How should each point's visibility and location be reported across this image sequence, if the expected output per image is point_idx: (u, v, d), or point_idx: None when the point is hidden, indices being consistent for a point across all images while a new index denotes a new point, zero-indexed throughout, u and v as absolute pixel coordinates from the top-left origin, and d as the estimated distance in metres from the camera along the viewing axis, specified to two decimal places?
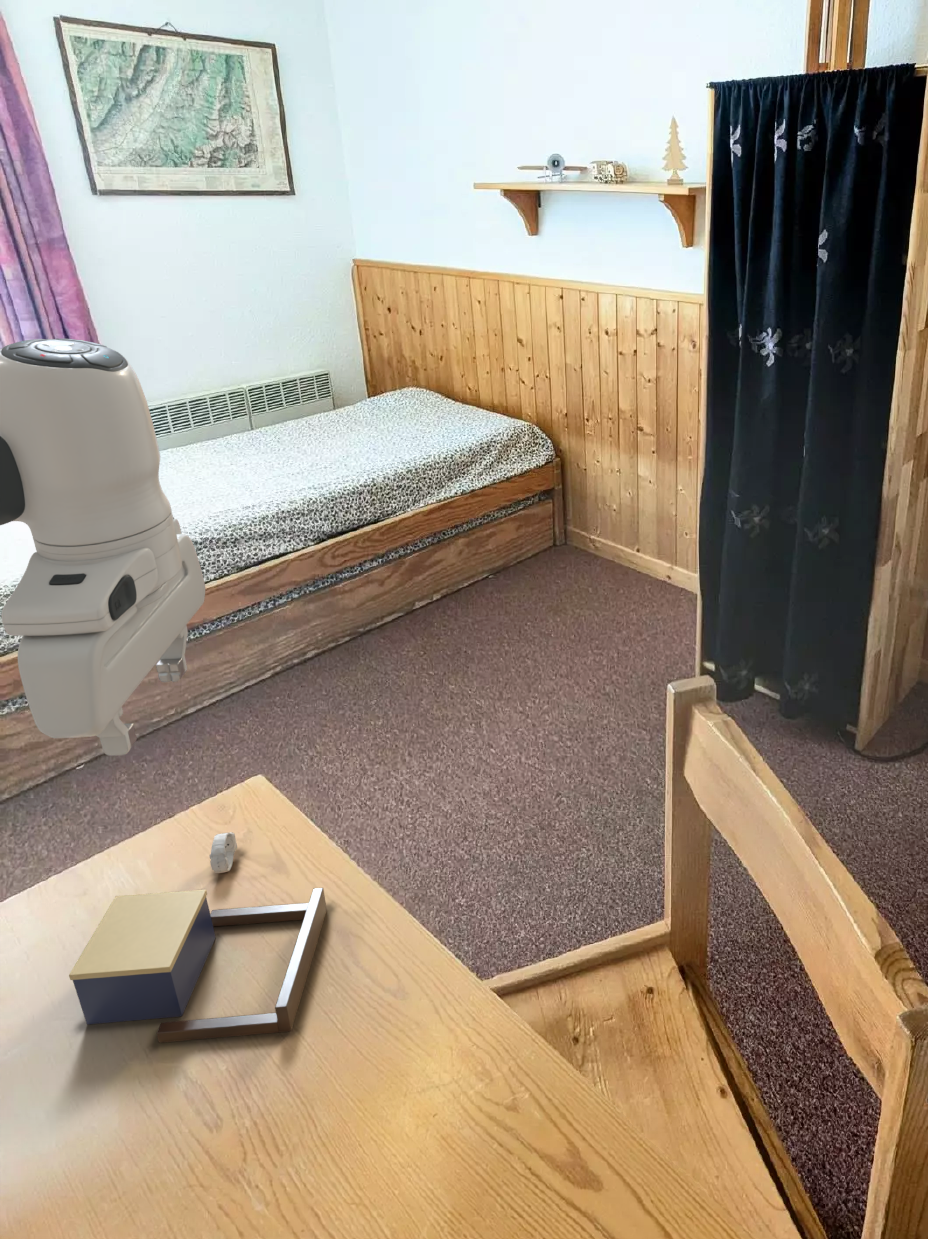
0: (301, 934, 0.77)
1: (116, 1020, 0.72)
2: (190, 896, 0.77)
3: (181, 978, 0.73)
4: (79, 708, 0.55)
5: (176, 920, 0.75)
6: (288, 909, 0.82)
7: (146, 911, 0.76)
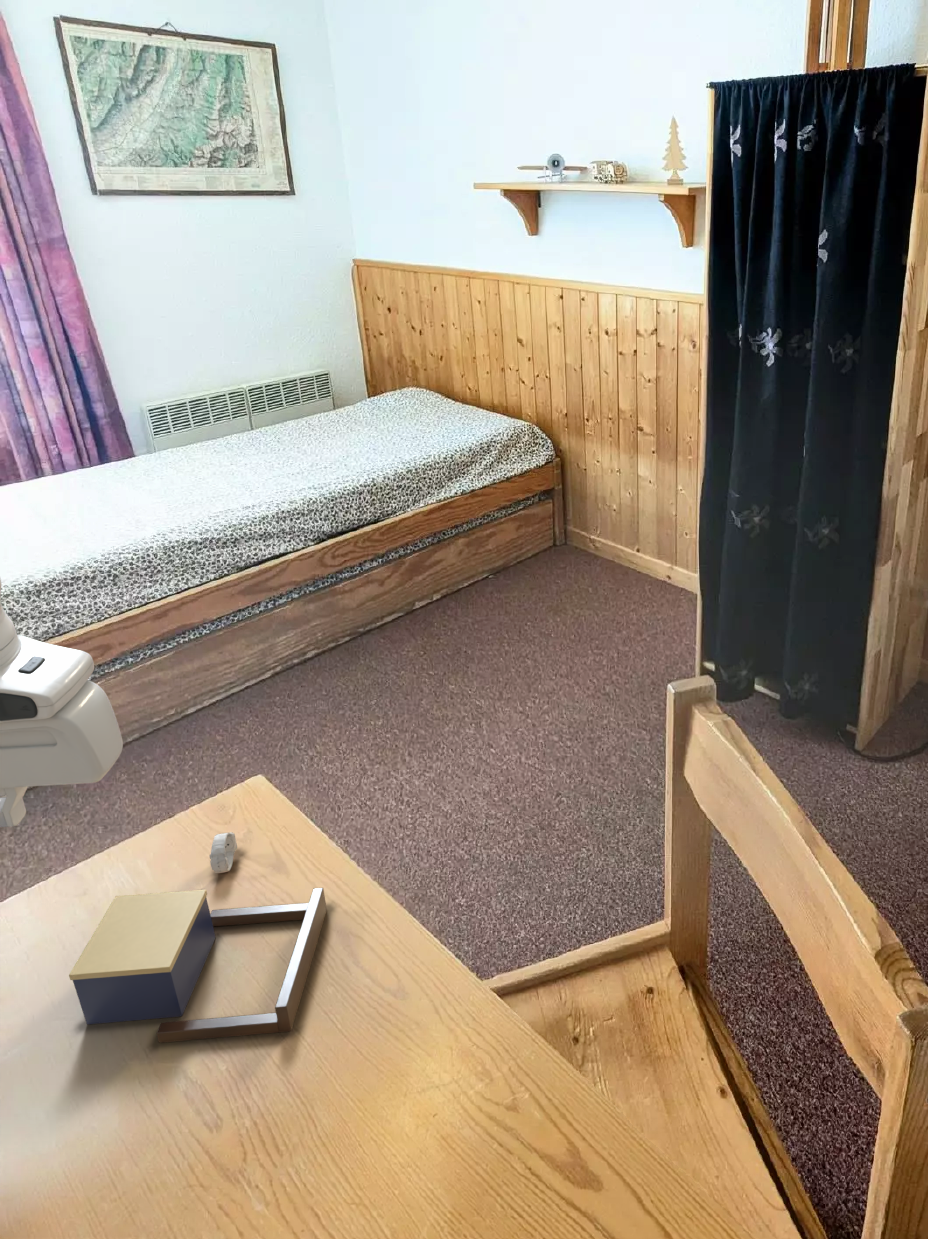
0: (301, 934, 0.77)
1: (116, 1020, 0.72)
2: (190, 896, 0.77)
3: (181, 978, 0.73)
4: (116, 732, 0.68)
5: (176, 920, 0.75)
6: (288, 909, 0.82)
7: (146, 911, 0.76)
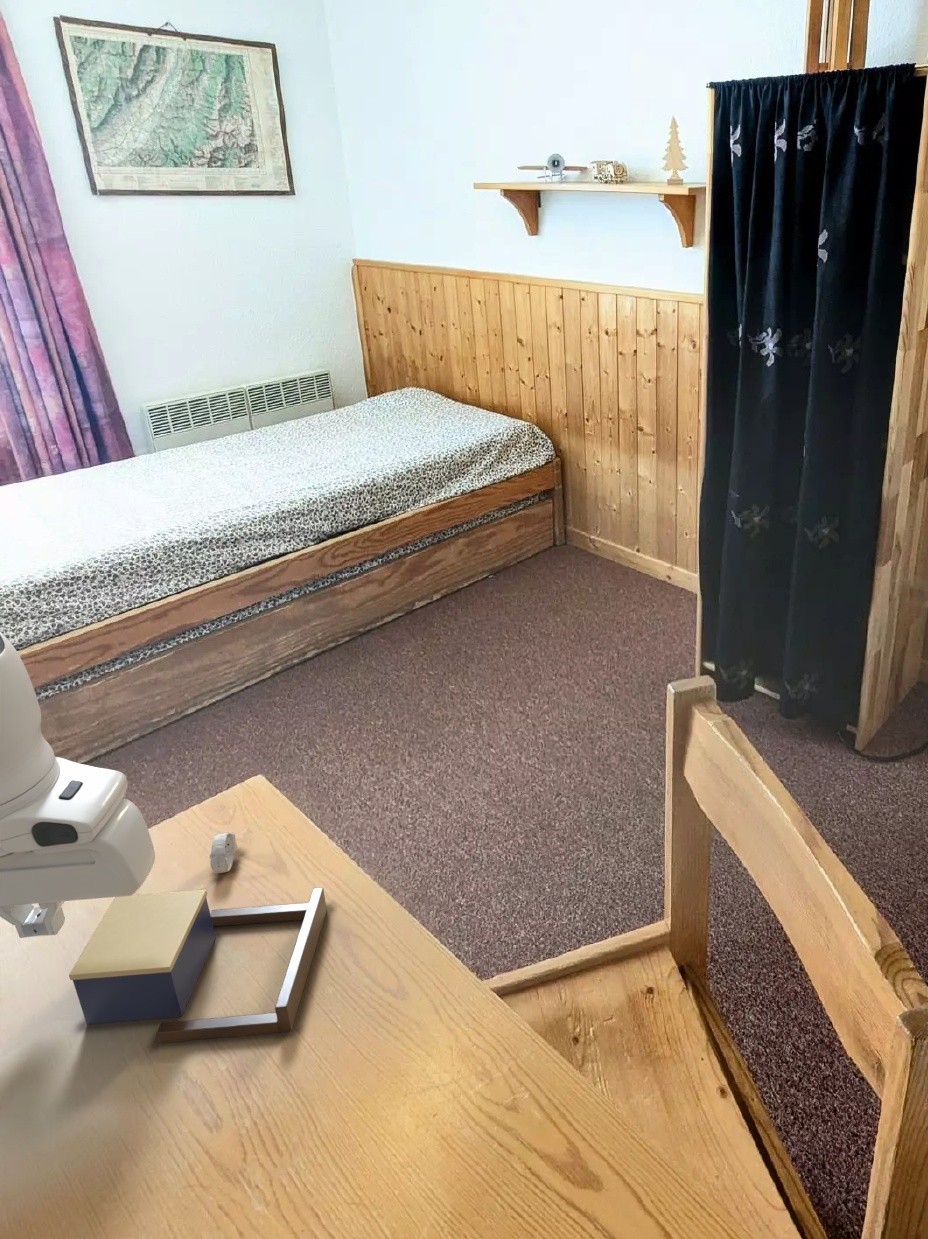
0: (301, 934, 0.77)
1: (116, 1020, 0.72)
2: (190, 896, 0.77)
3: (181, 978, 0.73)
4: (149, 845, 0.72)
5: (176, 920, 0.75)
6: (288, 909, 0.82)
7: (146, 911, 0.76)
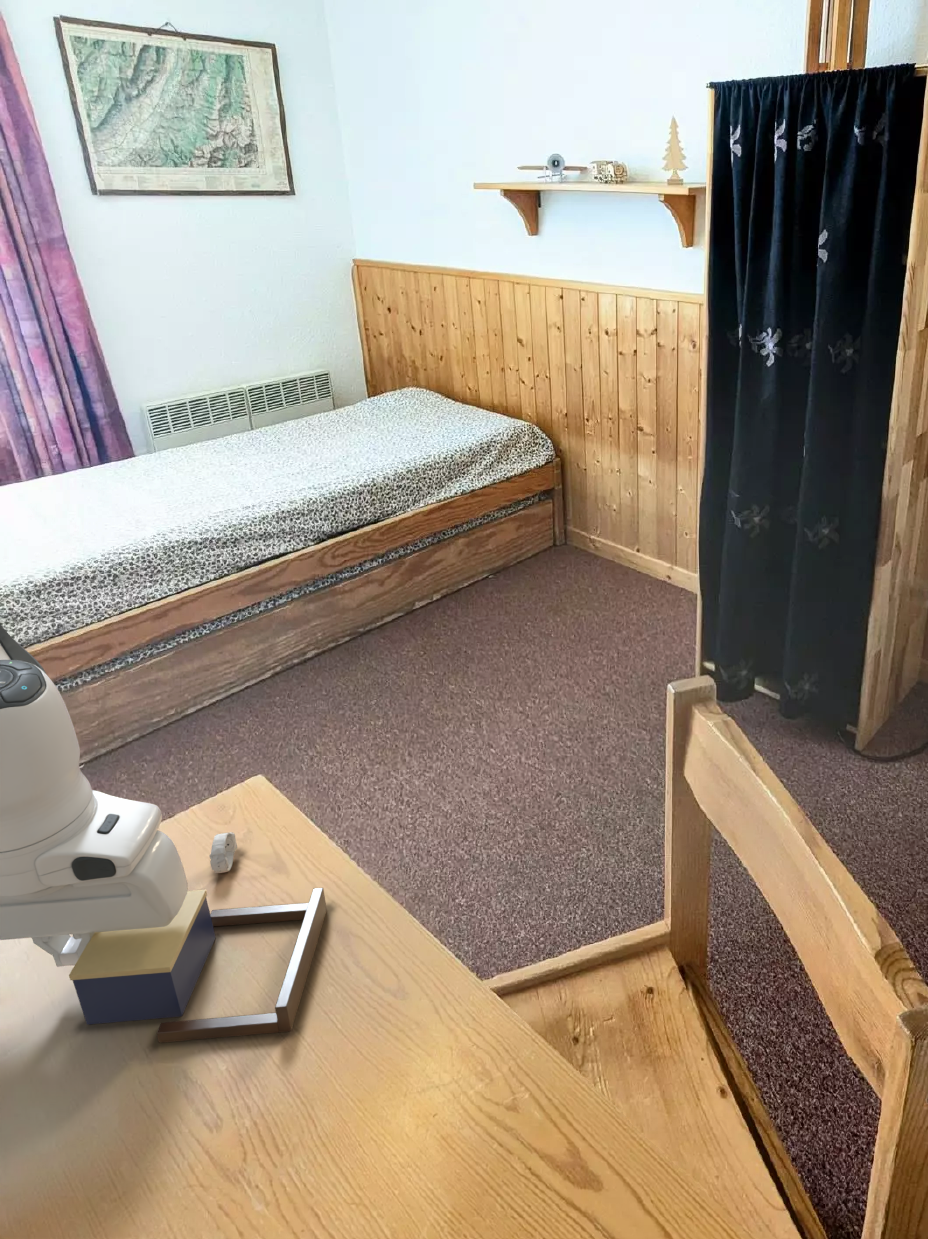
0: (301, 934, 0.77)
1: (116, 1020, 0.72)
2: (190, 896, 0.77)
3: (181, 978, 0.73)
4: (182, 876, 0.74)
5: (176, 920, 0.75)
6: (288, 909, 0.82)
7: None
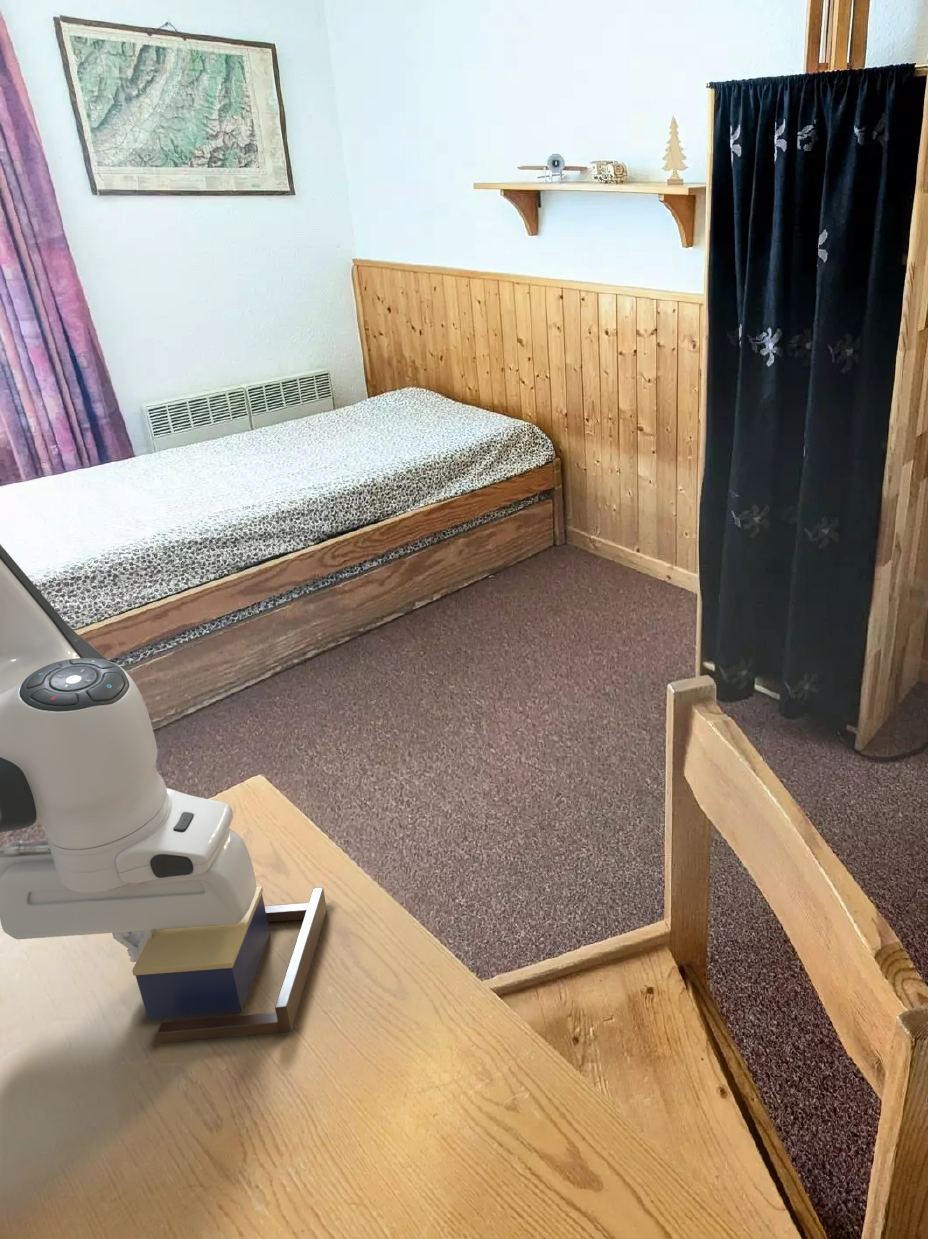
0: (301, 934, 0.77)
1: (177, 1015, 0.73)
2: None
3: (241, 974, 0.73)
4: (251, 874, 0.75)
5: None
6: (288, 909, 0.82)
7: None
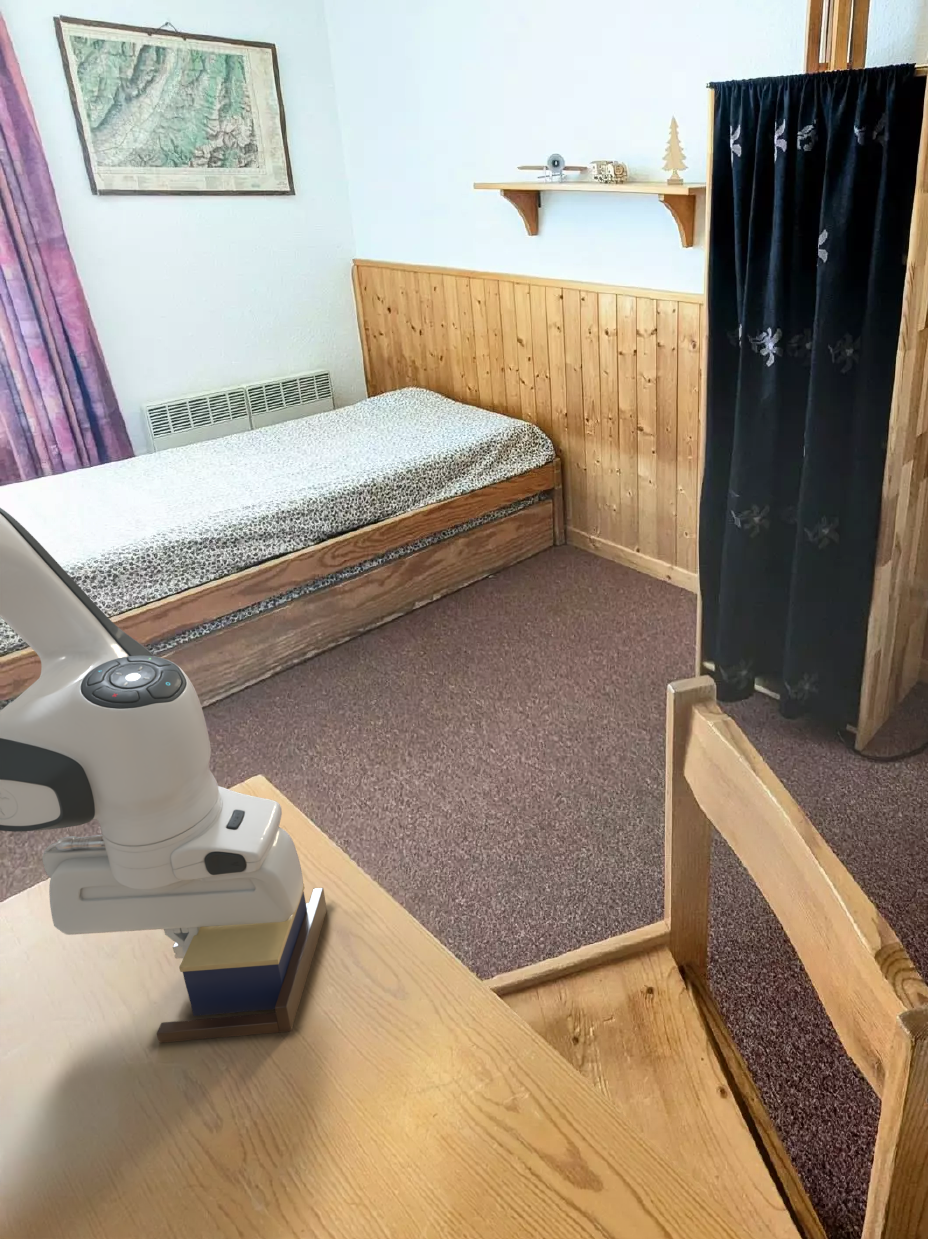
0: (301, 934, 0.77)
1: (222, 1012, 0.73)
2: None
3: (285, 971, 0.74)
4: (299, 872, 0.75)
5: None
6: None
7: None
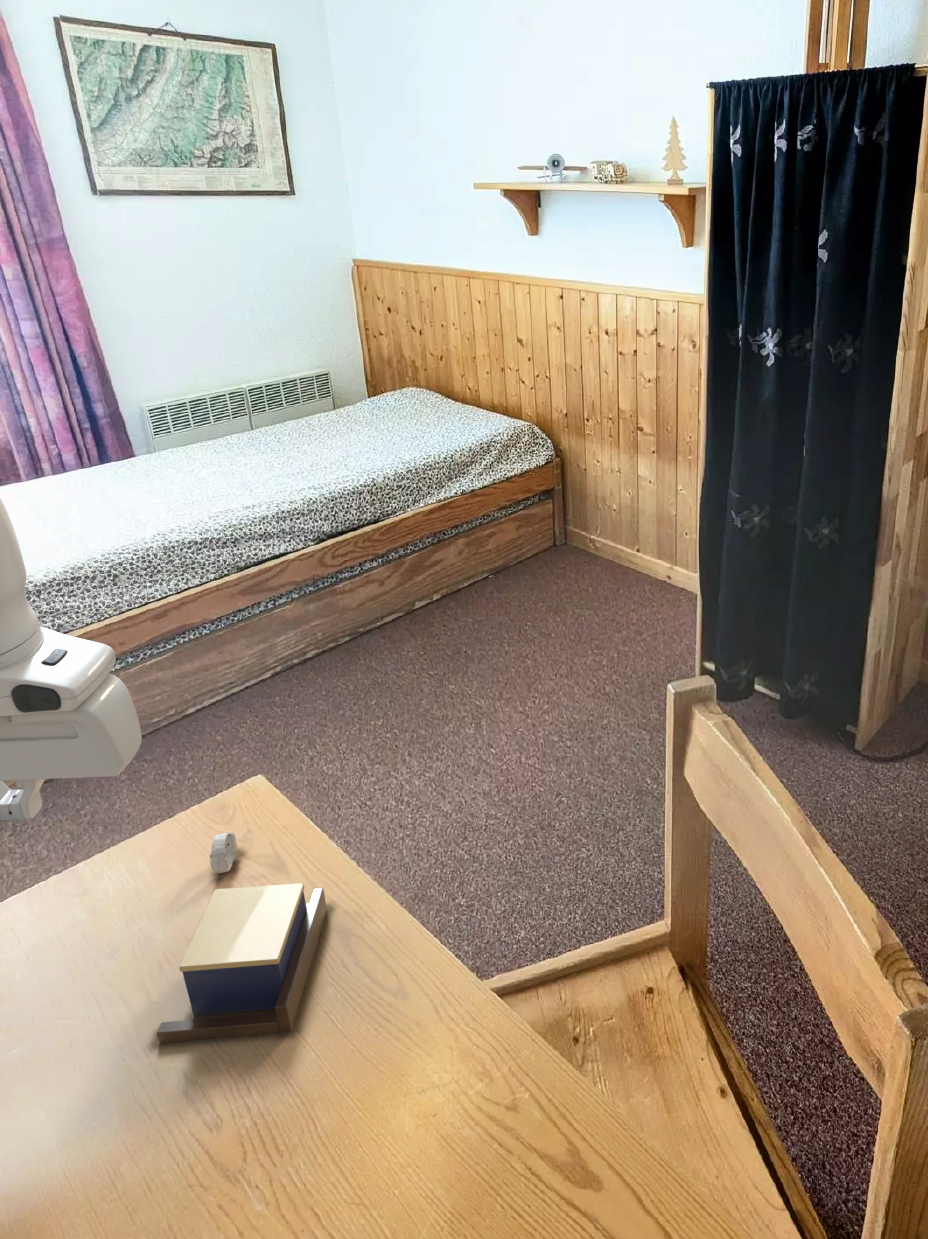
0: (301, 934, 0.77)
1: (222, 1011, 0.73)
2: (289, 890, 0.78)
3: (285, 970, 0.74)
4: (135, 725, 0.68)
5: (278, 913, 0.76)
6: None
7: (247, 904, 0.77)
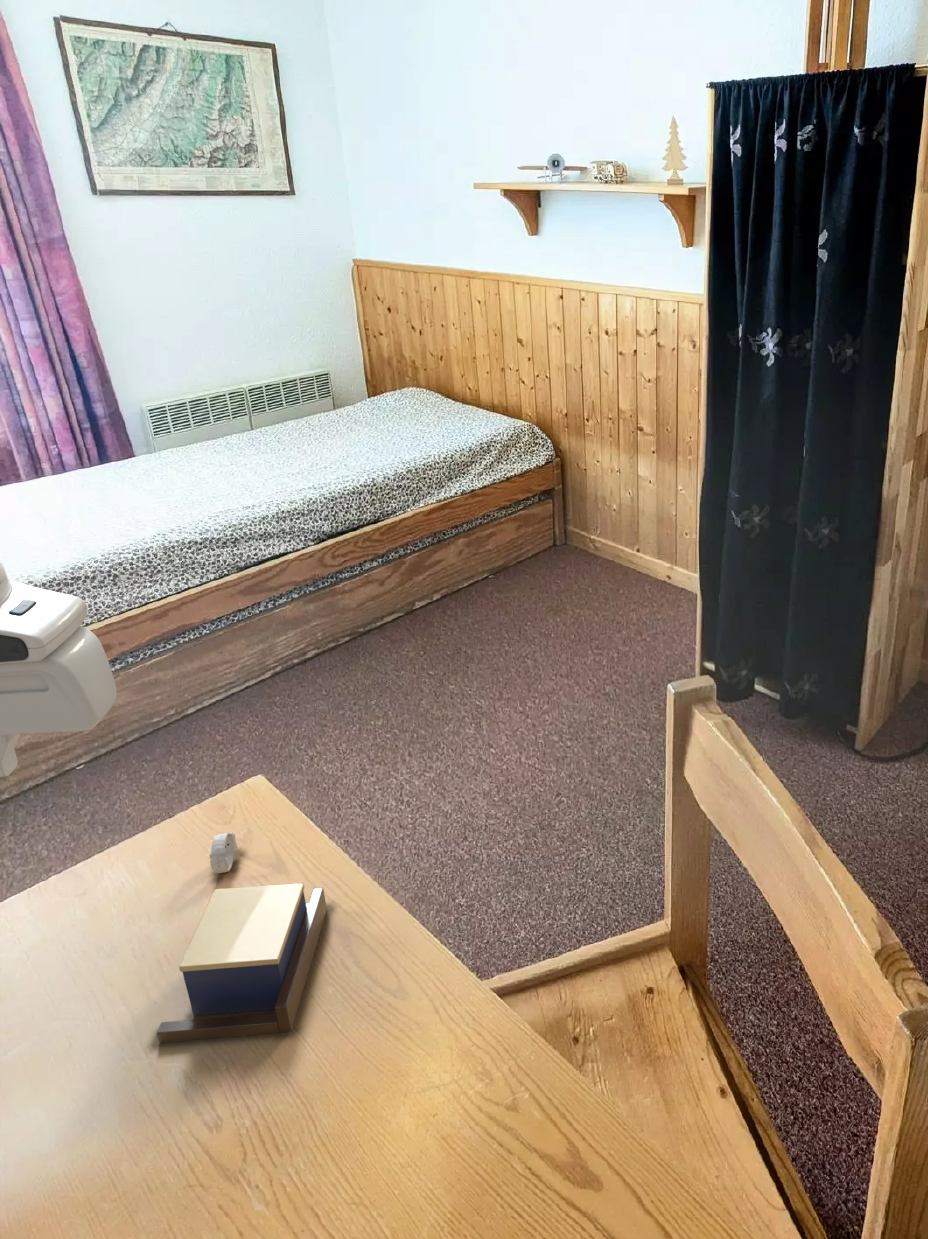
0: (301, 934, 0.77)
1: (222, 1011, 0.73)
2: (289, 890, 0.78)
3: (285, 970, 0.74)
4: (109, 679, 0.66)
5: (278, 913, 0.76)
6: None
7: (247, 904, 0.77)
